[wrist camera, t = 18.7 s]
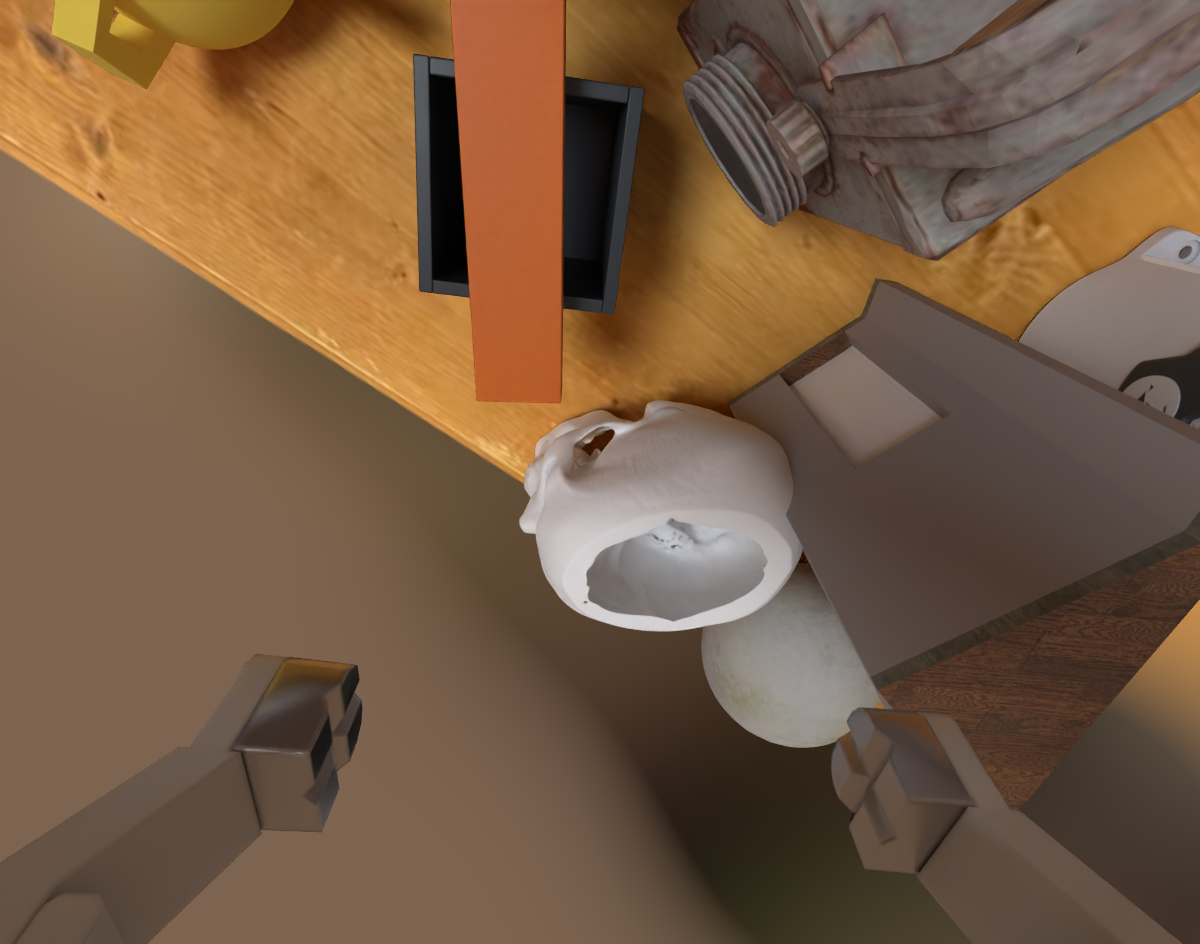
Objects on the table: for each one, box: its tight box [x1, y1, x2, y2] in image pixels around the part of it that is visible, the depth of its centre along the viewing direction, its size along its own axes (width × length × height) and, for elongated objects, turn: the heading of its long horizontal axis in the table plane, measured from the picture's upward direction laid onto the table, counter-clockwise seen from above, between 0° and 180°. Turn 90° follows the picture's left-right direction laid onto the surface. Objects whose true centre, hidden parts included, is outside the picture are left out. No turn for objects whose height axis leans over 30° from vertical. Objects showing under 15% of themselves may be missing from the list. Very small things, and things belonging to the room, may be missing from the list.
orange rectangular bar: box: [450, 0, 566, 403], centre depth 29 cm, size 18×4×2 cm, turn 178°
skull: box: [519, 400, 803, 631], centre depth 42 cm, size 13×18×20 cm
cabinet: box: [728, 279, 1200, 811], centre depth 35 cm, size 21×10×28 cm, turn 171°
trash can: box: [413, 54, 645, 314], centre depth 34 cm, size 10×10×12 cm
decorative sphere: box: [701, 563, 880, 747], centre depth 51 cm, size 15×15×15 cm
